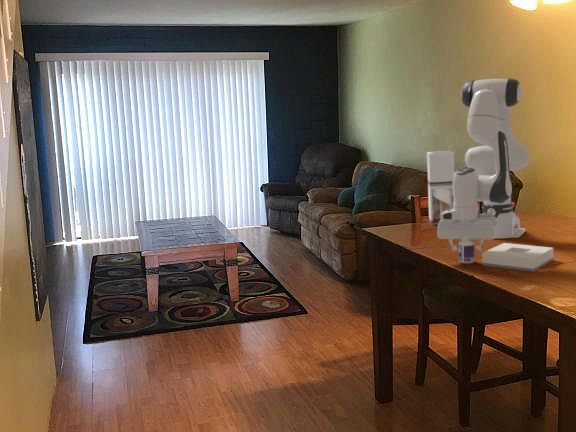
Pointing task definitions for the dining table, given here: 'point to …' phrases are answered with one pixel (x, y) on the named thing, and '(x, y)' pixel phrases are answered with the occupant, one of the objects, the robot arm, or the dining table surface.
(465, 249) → the pill bottle
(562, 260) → the dining table surface
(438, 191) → the white dispenser
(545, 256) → the socket holder
